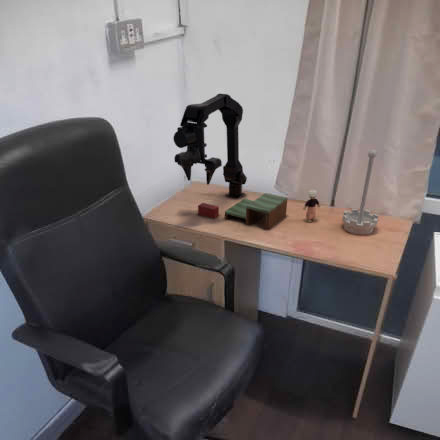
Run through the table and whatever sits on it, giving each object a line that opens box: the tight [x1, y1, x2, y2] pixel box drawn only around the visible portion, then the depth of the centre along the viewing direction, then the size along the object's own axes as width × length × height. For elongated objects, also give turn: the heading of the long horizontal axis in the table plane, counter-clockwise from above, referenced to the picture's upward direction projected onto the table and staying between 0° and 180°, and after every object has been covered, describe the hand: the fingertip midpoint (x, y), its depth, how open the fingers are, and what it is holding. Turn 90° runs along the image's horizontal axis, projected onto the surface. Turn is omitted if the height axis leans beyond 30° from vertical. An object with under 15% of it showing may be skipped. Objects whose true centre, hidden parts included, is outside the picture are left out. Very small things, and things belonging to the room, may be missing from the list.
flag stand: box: [341, 149, 379, 236], centre depth 154 cm, size 13×13×30 cm
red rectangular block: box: [197, 202, 220, 219], centre depth 173 cm, size 4×8×4 cm, turn 57°
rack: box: [224, 192, 288, 231], centre depth 170 cm, size 16×20×8 cm
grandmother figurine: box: [302, 189, 321, 223], centre depth 165 cm, size 8×4×13 cm, turn 126°
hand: (198, 182), depth 165 cm, fingers open, 9 cm apart
